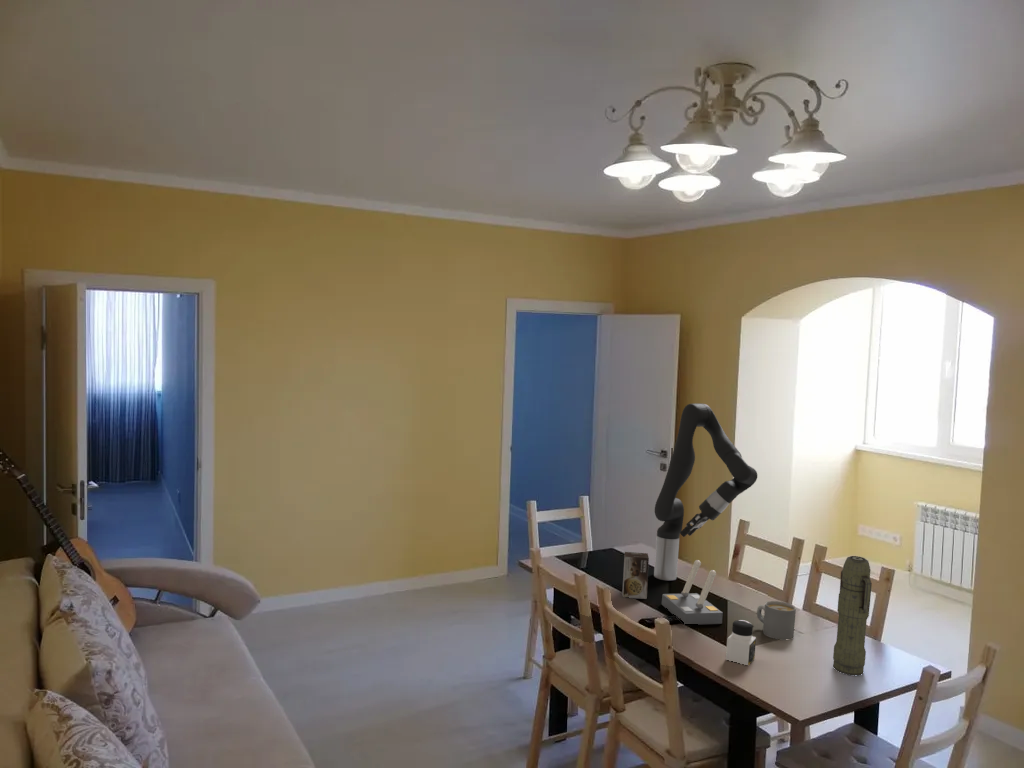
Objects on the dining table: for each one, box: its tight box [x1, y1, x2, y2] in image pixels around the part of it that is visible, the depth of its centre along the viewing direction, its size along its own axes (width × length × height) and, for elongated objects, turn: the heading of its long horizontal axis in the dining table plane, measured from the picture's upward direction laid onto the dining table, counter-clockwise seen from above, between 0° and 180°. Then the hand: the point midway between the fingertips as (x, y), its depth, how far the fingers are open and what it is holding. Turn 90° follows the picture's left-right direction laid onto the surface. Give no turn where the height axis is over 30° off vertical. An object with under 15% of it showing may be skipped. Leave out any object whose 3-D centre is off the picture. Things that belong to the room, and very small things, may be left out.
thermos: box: [832, 555, 873, 677], centre depth 237 cm, size 9×12×35 cm
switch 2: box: [696, 569, 717, 609], centre depth 274 cm, size 2×2×14 cm
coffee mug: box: [756, 600, 797, 641], centre depth 266 cm, size 13×10×10 cm
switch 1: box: [680, 559, 702, 598], centre depth 285 cm, size 2×2×14 cm
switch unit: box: [661, 592, 724, 625], centre depth 280 cm, size 20×14×4 cm
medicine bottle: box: [725, 619, 757, 667], centre depth 241 cm, size 7×7×12 cm
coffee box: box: [621, 551, 650, 600], centre depth 296 cm, size 9×6×16 cm
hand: (684, 534), depth 296 cm, fingers open, 8 cm apart
